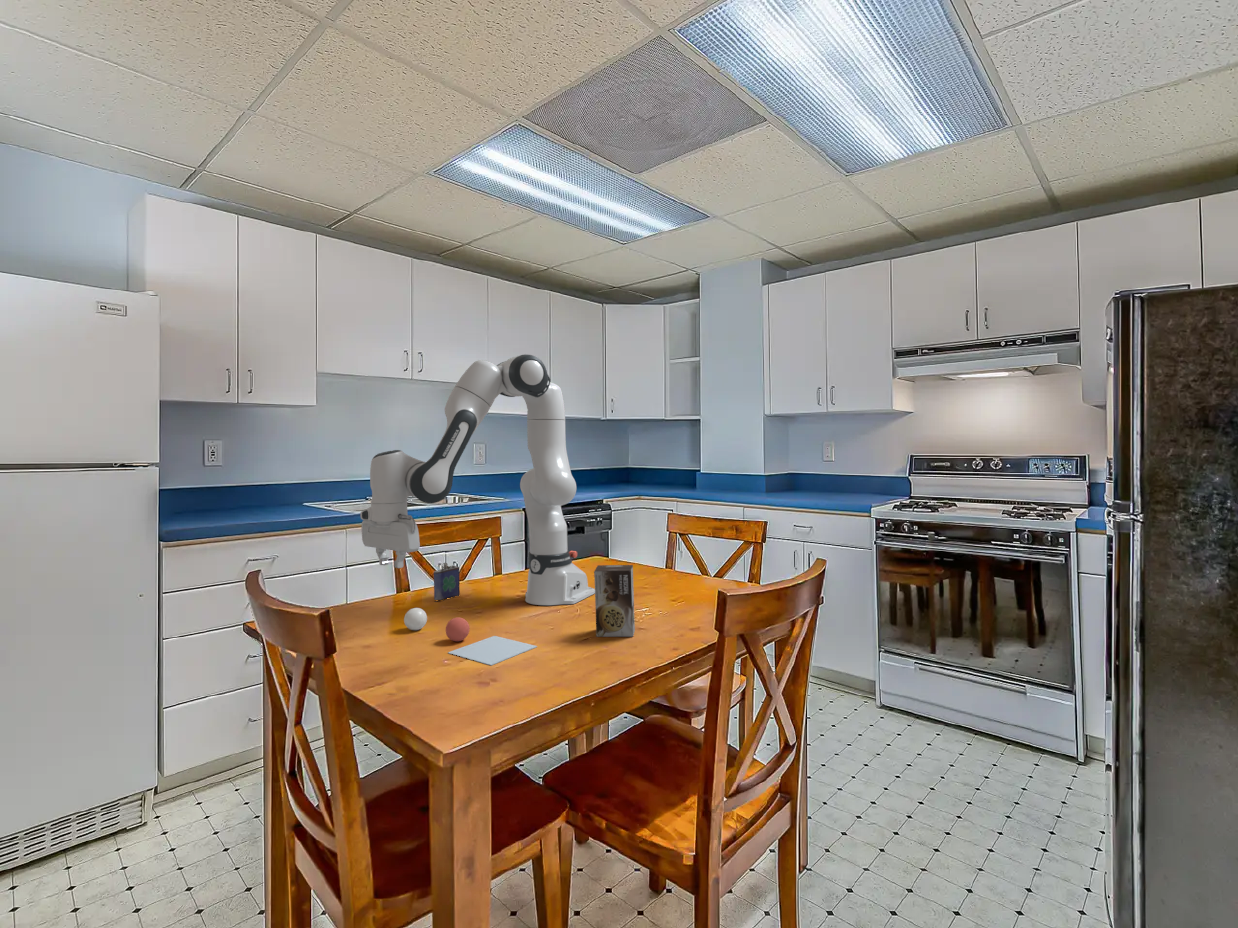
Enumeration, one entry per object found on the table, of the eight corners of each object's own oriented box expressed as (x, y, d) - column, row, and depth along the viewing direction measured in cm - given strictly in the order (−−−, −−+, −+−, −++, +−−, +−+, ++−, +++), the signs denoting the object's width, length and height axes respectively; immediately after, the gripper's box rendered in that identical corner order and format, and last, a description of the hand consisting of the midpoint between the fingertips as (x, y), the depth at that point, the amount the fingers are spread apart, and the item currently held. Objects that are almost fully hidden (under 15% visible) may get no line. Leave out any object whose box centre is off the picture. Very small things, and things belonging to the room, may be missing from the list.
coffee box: (635, 629, 156) (634, 564, 155) (633, 637, 149) (632, 569, 149) (598, 628, 157) (597, 564, 156) (595, 636, 150) (593, 569, 150)
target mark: (494, 636, 152) (494, 635, 152) (537, 646, 144) (537, 645, 144) (447, 653, 141) (447, 652, 141) (491, 665, 132) (491, 664, 132)
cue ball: (418, 625, 163) (417, 604, 162) (431, 628, 159) (431, 607, 159) (399, 630, 158) (399, 609, 158) (413, 634, 155) (412, 612, 155)
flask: (438, 602, 185) (436, 566, 185) (431, 601, 187) (430, 565, 187) (462, 595, 193) (461, 560, 193) (455, 594, 195) (454, 559, 194)
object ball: (459, 635, 153) (458, 613, 153) (474, 639, 150) (474, 616, 150) (441, 641, 149) (440, 618, 148) (456, 646, 145) (455, 622, 145)
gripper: (425, 514, 159) (426, 568, 160) (377, 509, 172) (379, 560, 172) (403, 516, 154) (405, 572, 155) (356, 512, 166) (358, 564, 167)
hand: (391, 566), depth 164 cm, fingers open, 5 cm apart
